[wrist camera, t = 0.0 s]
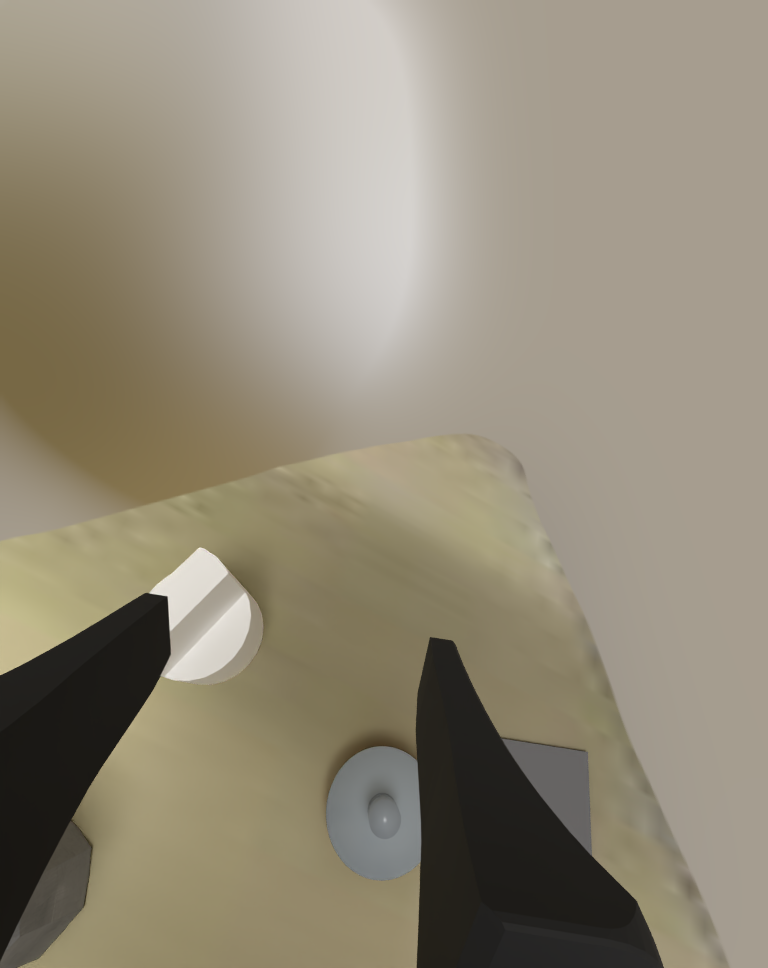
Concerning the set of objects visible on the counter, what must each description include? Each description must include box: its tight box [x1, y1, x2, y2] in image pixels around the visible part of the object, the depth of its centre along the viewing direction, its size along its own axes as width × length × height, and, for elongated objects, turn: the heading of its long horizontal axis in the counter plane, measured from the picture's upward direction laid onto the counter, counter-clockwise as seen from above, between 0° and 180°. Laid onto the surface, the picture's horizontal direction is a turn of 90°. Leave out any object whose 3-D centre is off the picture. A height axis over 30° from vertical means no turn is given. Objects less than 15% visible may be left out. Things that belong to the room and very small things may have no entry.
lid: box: [326, 746, 421, 880], centre depth 35 cm, size 8×8×4 cm
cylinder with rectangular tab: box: [150, 547, 264, 685], centre depth 38 cm, size 9×9×12 cm
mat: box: [502, 739, 592, 856], centre depth 38 cm, size 12×12×1 cm
